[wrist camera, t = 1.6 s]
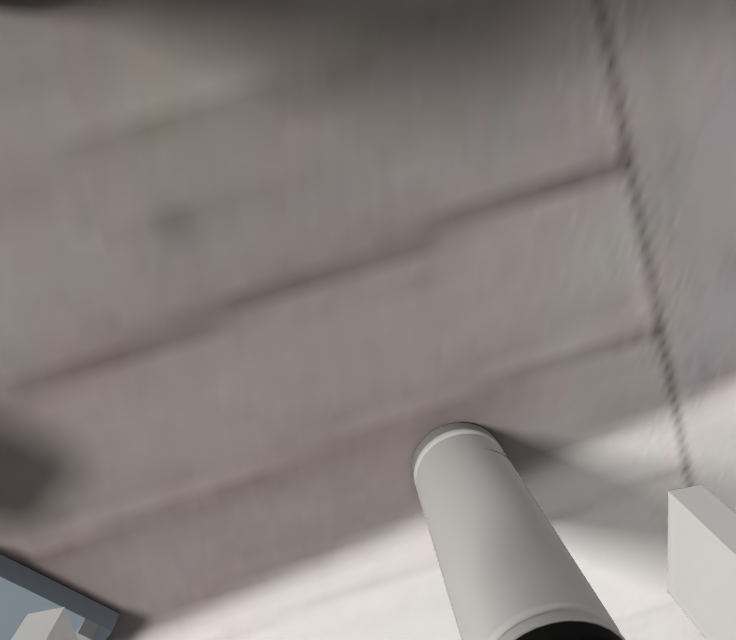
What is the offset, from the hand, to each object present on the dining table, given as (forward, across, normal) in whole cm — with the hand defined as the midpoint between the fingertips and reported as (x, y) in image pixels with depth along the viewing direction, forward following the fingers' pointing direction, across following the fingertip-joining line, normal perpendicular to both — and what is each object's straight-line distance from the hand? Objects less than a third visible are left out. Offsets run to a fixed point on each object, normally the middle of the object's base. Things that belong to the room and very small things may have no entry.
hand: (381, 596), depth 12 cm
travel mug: (+23, +6, -12) cm, 26 cm away
